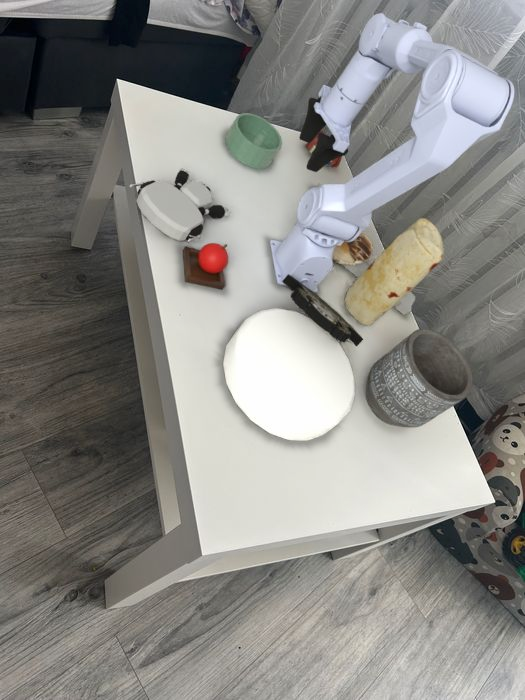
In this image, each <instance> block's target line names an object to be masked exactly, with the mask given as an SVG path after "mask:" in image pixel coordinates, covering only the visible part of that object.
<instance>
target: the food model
mask: <svg viewBox="0 0 525 700" xmlns="http://www.w3.org/2000/svg"><path fill="white" fill-rule="evenodd" d="M443 243H444V242H443V237H442V235H441V233H440V231H439V229H438V228H437V227H436V226H435V225H434V224H433V222H431V220H429V219H427V218H425V217H421V218H419V219H417V220H416V221H414V222H413V223H412V224H411V225H410V226H409V227H408V228H407V229H405V230H404V231H403V232H402V233H401V234H399V235H397V237H396V238H394V240H393V241H392V242H391V243H390V244H389V245H388V246H387V247H386V248H385V249H384V250H383V251H382V253H380V254H379V255H378V256H377V257H376V258H375V259H374V260H373V261H372V262H373V263H372V264H371V265H370V266H369V267H368V268H367V269H366V270H365V271H364V272H363V274H362V275H361V276H360V277H359V278H356V280H355V281H354V282H353V283H352V284H351V286H350V287H349V289H347V292H346V294H345V298H344V303H345V307H346V309H347V311H348V313H349V314H350V315H351V316H352V317H353V318H354V319H355V320H356V321H357V322H358V323H359V324H361V325H363V326H367V327H368V326H371V325H372V324H374V323H375V322H376V321H377V320H378V319H379V318H380V317H383V316H384V315H385V314H387V312H389V311H390V310H392V309H393V307H395V306H394V305H395V304H396V303H397V302H399V301H400V300H401V299H402V298H403V297H404V296H405V295H406V294H408V293H409V292H410V291H411V292H412V290H413V289H414V288H415V287H417V285H419V284H420V283H421V282H422V280H424V278H425V277H426V276H428V274H430V273H431V271H433V270H434V269H435V268H436V267H437V266H438V265H439V264H440V263H441V262H442V261H443V260H442V259H443V257H444V244H443Z"/></svg>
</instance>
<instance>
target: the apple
mask: <svg viewBox="0 0 525 700" xmlns="http://www.w3.org/2000/svg"><path fill="white" fill-rule="evenodd" d="M227 247H228V244H226V243H225V244H224V245H222V244H220V243H217V242H211V243H207V244H205V245H203V246H202V247H201V249H199V250H200V252H199V255H198V261H199V264H200V266H201V268H202V269H203V270H205V271H206V272H208V273H219V272H221V271H222V270H223V271H224V270H225V269H226V268H227V265H228V264H229V254H228V251H227V250H226V249H227Z"/></svg>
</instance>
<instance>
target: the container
mask: <svg viewBox="0 0 525 700" xmlns="http://www.w3.org/2000/svg"><path fill="white" fill-rule="evenodd" d="M222 365H223V372H224V377H225V383H226V386H227V387H228V390H229V392H230V394H231V396H232V398H233V400H234V402H235V404H236V405H237V406H238V407H239V409H240V410H242V412H243V413H244V414H245V415H246V416H247V418H248V419H249V420H250V421H251V422H253V423H254V424H256V425H257V426H258V427H260V428H261V429H262V430H264V431H265V432H267V433H268V434H271V435H274V436H276V437H279V438H281V439H284V440H287V441H307V442H308V441H310V440H314V439H316V438H319V437H322V436H324V435H325V434H327V433H328V432H329V431H330V430H332V429H334V428H335V427H336V426H337V425H338V424H339V423H341V422H342V420H344V419H345V418H346V417H347V416H348V414H350V411H351V409H352V406H353V403H354V400H355V399H356V393H355V392H356V379H355V376H354V375H355V374H354V371H353V368H352V365H351V361H350V359H349V358H348V356H347V354H346V352H345V350H344V348H343V347H342V345H341V343H340V342H339V341H338V340H336V339H335V338H334V337H332V336H331V335H330V333H329V332H327V331H325V330H324V329H322V328H321V327H320V326H318V325H317V324H316V323H315V322H314V321H313V320H312V319H311V318H310V317H309V316H308V315H306V314H303V313H300V312H298V311H297V310H296V311H295V310H293V309H285V308H280V307H274V308H268V309H262V310H258V311H257V312H255V313H253V314H252V315H250V316H248V317H247V318H245V320H244V321H243V322H242V323H241V324H240V326H239V327H238V328H237V330H236V331H235V332H234V333H233V335H232V337H231V338H230V340H229V341H228V343H227V344H226V346H225V350H224V355H223V362H222Z"/></svg>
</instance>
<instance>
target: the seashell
mask: <svg viewBox="0 0 525 700" xmlns="http://www.w3.org/2000/svg"><path fill="white" fill-rule="evenodd" d="M373 246H374V245H373V243H372V241H371V240H370V238H369V237H368V236H367V235H366V234H365V233H364V231H362V232H361V234H360V235H359V236H358V237H357V238H356V239H355V240H354V241H352V242H346V241H344V242H343V243H342V244H341V246H338V245H336V246H335V248H334V251H333V261H335V262H336V263H337V264H339V265H341V266H343V265H345V266H352V265H355V264H362V263H365V262H367V261H368V260H369V259H370V258H371V256H372V254H373V252H374V251H373V250H374V247H373Z"/></svg>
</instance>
